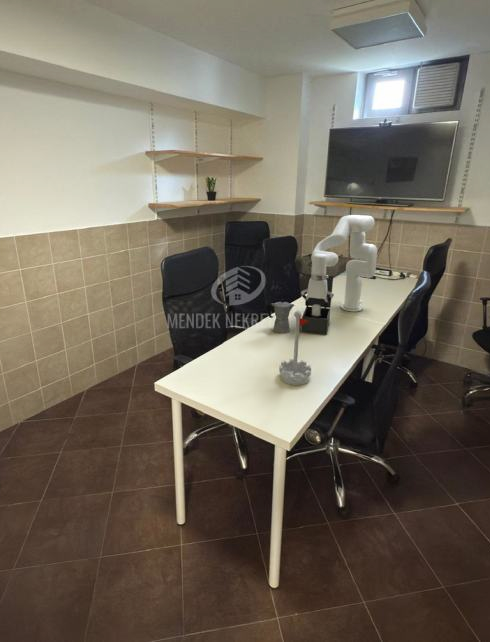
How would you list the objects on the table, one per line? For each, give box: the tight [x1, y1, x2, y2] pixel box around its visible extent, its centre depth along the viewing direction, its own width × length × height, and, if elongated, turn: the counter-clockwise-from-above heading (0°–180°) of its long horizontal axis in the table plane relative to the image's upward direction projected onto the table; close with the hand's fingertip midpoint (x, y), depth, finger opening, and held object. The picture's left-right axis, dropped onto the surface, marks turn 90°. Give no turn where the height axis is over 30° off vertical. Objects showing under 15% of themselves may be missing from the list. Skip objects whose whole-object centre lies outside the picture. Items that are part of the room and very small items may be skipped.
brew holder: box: [310, 313, 322, 318], centre depth 196 cm, size 6×6×9 cm
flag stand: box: [278, 310, 312, 386], centre depth 145 cm, size 13×13×30 cm
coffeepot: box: [265, 298, 296, 334], centre depth 195 cm, size 15×9×18 cm, turn 92°
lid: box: [307, 273, 334, 309], centre depth 206 cm, size 18×14×5 cm
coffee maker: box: [300, 306, 331, 336], centre depth 199 cm, size 18×14×9 cm
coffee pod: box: [311, 304, 322, 316], centre depth 194 cm, size 4×4×5 cm
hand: (316, 307), depth 193 cm, fingers open, 9 cm apart
